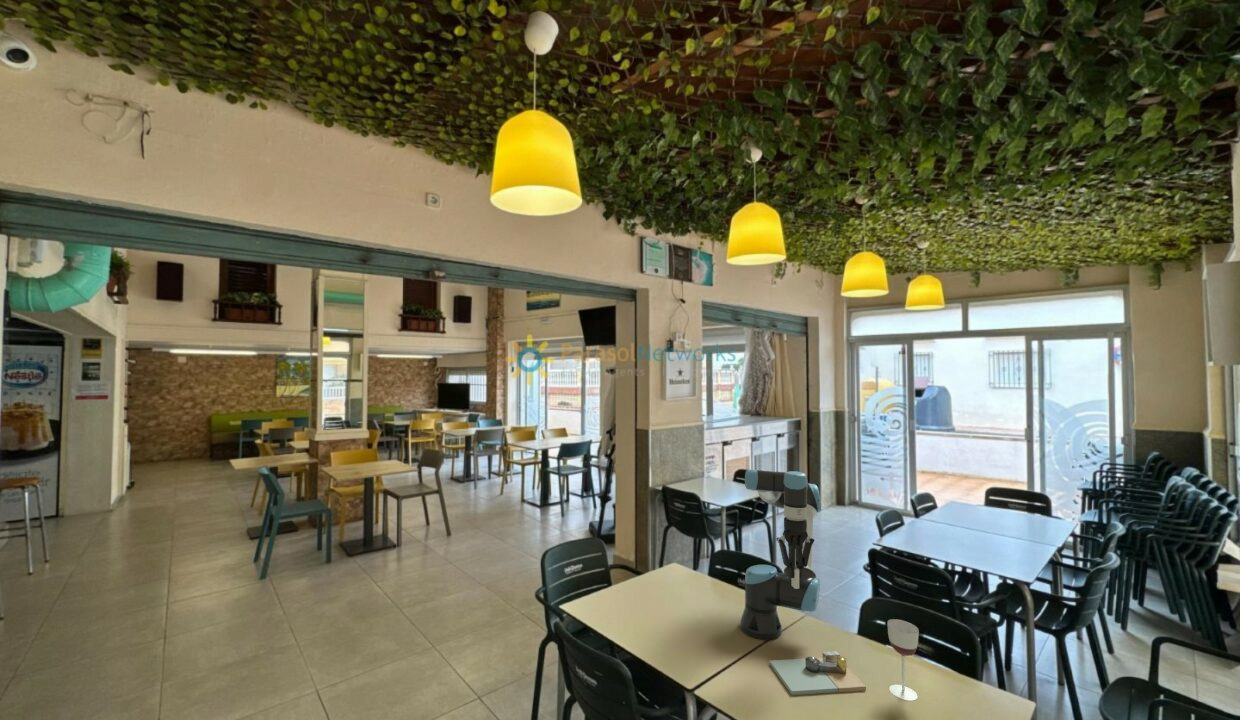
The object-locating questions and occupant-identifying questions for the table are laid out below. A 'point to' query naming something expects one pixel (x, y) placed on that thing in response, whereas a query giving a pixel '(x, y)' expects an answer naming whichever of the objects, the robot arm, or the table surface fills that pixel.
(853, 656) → the table surface
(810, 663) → the swing bar
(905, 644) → the wineglass
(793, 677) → the door board
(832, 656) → the block
